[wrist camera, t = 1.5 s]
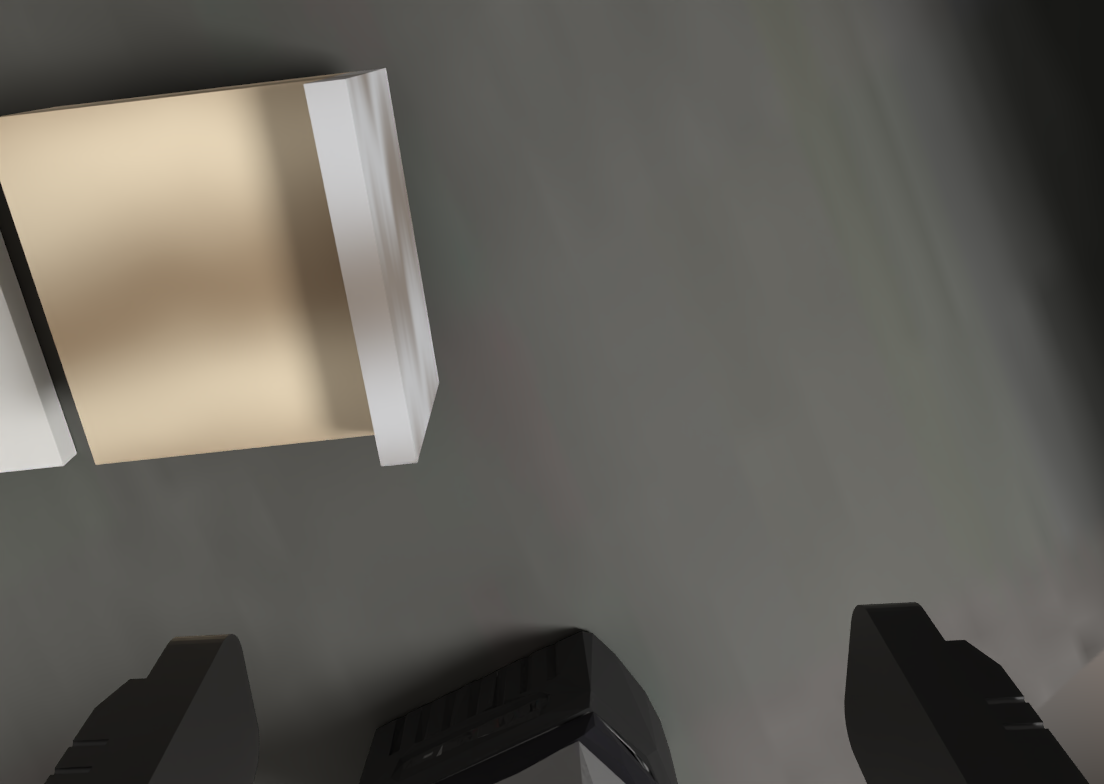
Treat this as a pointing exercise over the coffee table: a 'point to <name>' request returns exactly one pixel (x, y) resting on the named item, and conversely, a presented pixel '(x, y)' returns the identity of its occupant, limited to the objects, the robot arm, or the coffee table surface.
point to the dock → (26, 388)
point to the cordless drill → (531, 727)
